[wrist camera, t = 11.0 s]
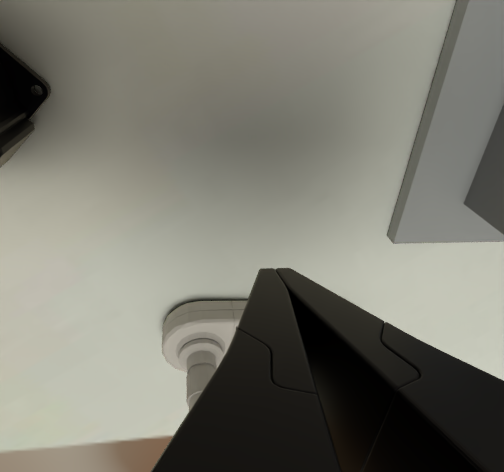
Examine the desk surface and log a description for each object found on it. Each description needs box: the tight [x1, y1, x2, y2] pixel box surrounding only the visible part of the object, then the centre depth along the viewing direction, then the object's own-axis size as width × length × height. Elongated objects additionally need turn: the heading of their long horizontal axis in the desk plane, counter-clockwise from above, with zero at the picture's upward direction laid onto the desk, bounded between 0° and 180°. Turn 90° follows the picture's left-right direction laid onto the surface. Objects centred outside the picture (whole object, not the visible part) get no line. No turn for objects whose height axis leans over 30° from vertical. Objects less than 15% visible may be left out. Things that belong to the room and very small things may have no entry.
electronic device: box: [162, 301, 247, 411], centre depth 25 cm, size 5×10×15 cm
